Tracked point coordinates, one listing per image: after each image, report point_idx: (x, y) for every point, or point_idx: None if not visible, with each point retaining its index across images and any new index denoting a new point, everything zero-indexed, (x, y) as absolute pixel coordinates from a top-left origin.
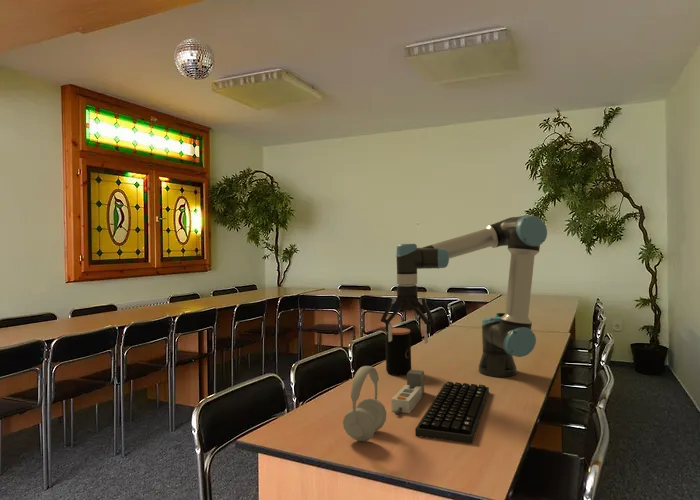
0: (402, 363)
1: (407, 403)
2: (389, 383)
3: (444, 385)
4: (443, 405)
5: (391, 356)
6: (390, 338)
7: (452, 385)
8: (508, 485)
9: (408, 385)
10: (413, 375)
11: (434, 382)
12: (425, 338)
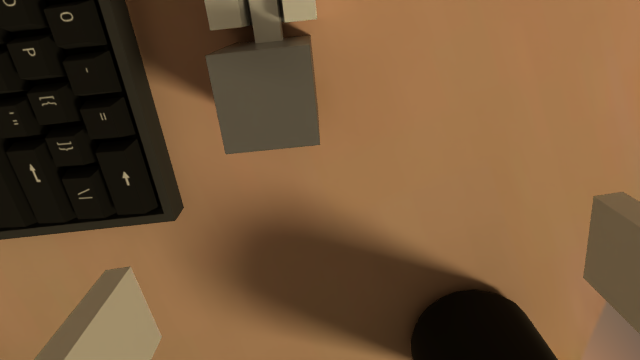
0: (451, 341)
1: None
2: (461, 174)
3: (159, 186)
4: None
5: (529, 358)
6: (624, 224)
7: (108, 181)
8: None
9: (290, 13)
10: (260, 49)
11: (264, 266)
12: (81, 315)
